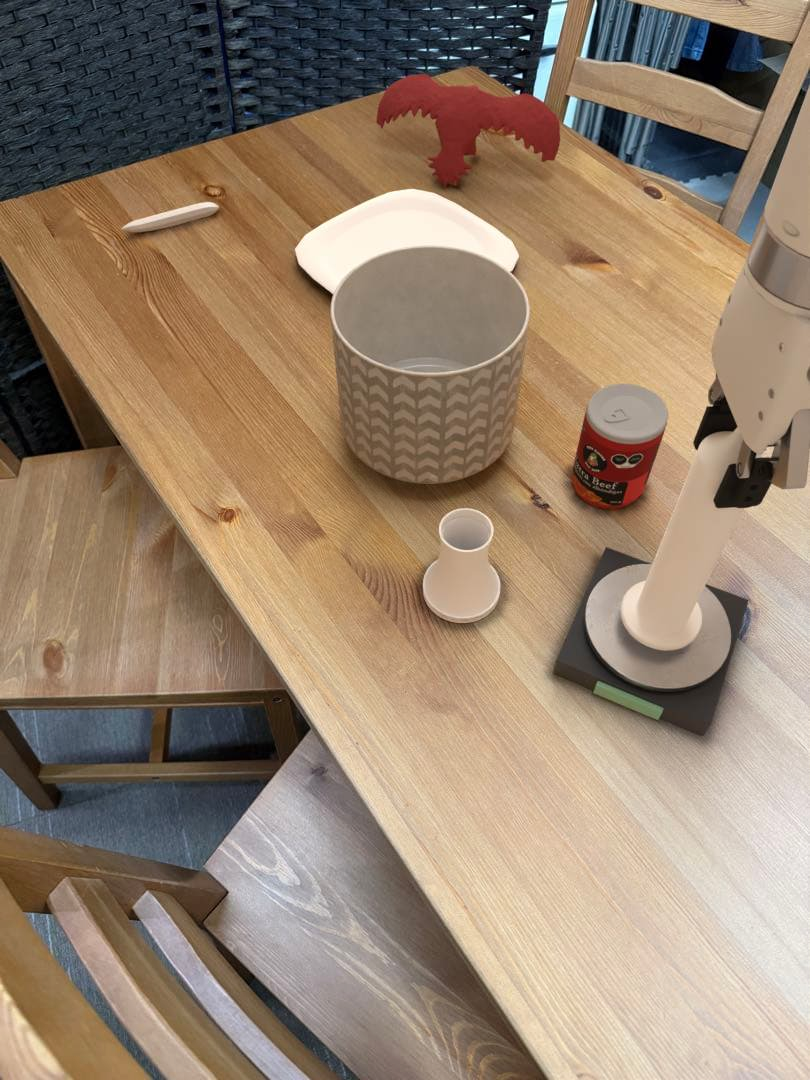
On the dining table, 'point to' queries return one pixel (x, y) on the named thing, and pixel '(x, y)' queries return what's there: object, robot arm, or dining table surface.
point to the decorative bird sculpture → (469, 120)
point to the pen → (172, 217)
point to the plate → (397, 234)
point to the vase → (462, 569)
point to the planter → (429, 361)
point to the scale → (649, 650)
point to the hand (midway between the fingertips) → (725, 473)
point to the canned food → (618, 444)
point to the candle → (685, 552)
